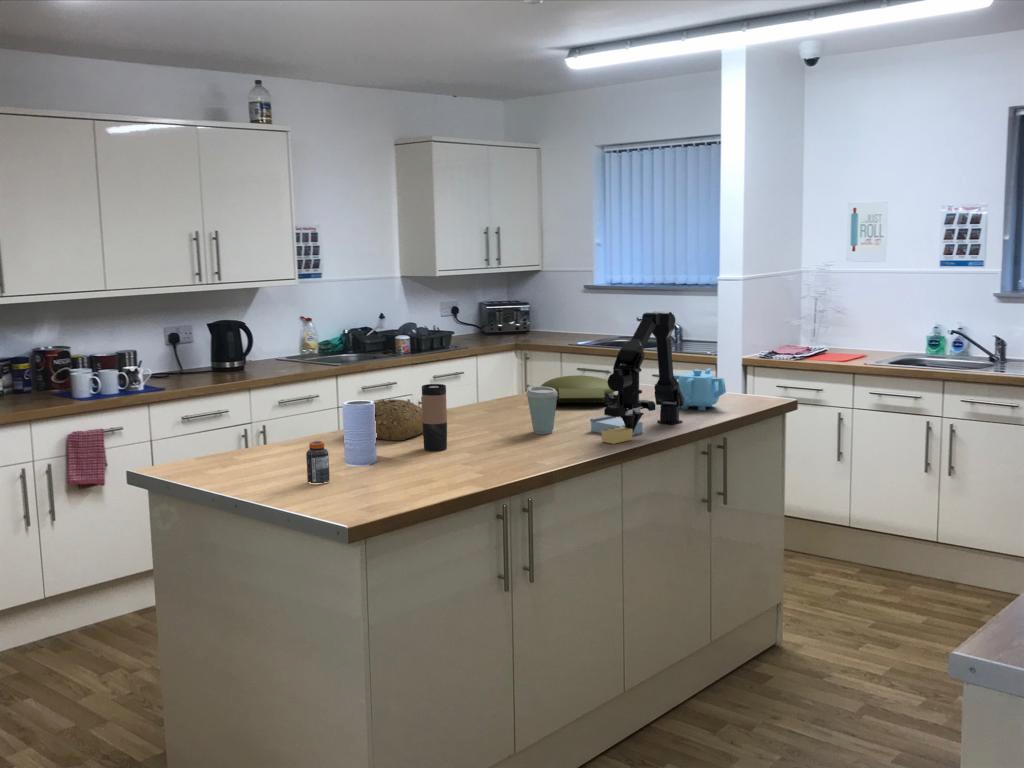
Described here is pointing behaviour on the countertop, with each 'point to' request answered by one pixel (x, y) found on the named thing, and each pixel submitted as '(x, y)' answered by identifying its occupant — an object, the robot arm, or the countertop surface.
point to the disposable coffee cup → (542, 408)
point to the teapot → (700, 389)
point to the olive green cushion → (579, 389)
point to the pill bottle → (317, 463)
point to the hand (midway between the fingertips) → (630, 434)
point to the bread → (397, 419)
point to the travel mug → (434, 417)
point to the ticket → (611, 424)
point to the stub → (616, 435)
